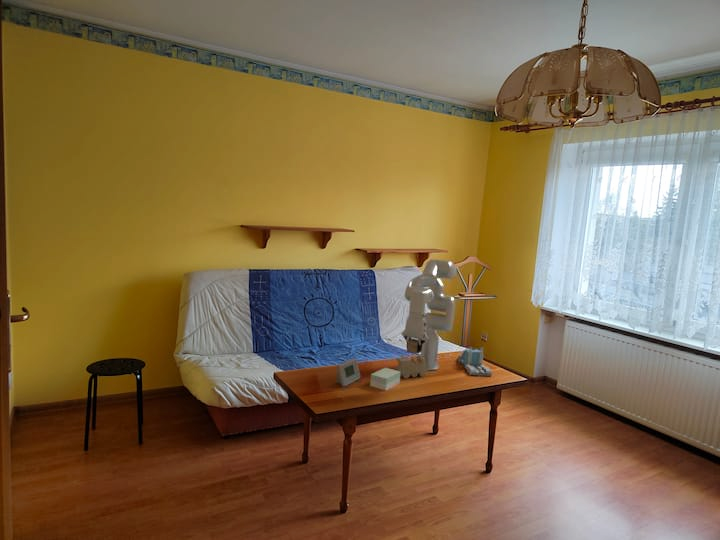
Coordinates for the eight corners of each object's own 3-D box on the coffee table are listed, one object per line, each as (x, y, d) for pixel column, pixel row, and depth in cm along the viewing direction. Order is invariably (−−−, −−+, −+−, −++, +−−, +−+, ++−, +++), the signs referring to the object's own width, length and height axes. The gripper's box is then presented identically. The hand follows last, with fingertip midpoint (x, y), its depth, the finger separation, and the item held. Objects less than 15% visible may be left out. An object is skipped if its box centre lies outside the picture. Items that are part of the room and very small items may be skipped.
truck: (475, 360, 286) (478, 337, 284) (491, 377, 257) (494, 351, 255) (456, 360, 285) (458, 336, 283) (470, 376, 256) (472, 350, 255)
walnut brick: (411, 349, 234) (412, 338, 233) (420, 352, 231) (421, 340, 230) (407, 352, 229) (407, 340, 229) (416, 354, 227) (417, 342, 226)
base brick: (384, 378, 243) (385, 367, 243) (399, 382, 239) (400, 371, 238) (370, 385, 232) (371, 374, 231) (385, 390, 227) (386, 378, 226)
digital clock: (342, 388, 227) (344, 367, 225) (330, 383, 233) (331, 362, 231) (365, 380, 239) (366, 360, 237) (352, 376, 245) (353, 356, 243)
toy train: (427, 376, 251) (429, 358, 250) (400, 379, 245) (401, 360, 243) (422, 373, 256) (424, 355, 255) (395, 375, 250) (396, 357, 248)
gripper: (435, 316, 226) (432, 353, 229) (404, 311, 236) (402, 345, 238) (429, 319, 220) (426, 356, 222) (397, 313, 229) (395, 349, 232)
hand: (413, 350), depth 230 cm, fingers closed on walnut brick, 5 cm apart
